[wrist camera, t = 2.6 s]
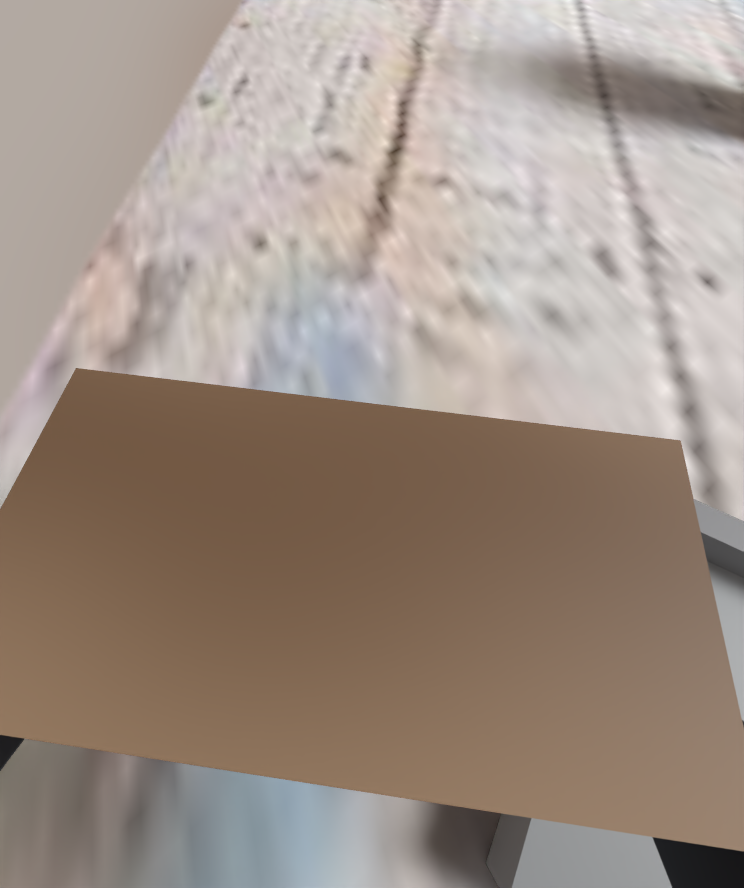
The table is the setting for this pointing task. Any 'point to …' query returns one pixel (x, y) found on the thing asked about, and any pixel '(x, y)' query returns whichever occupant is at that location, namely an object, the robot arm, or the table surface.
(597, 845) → the display ledge
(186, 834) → the table surface
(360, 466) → the brown tall block
